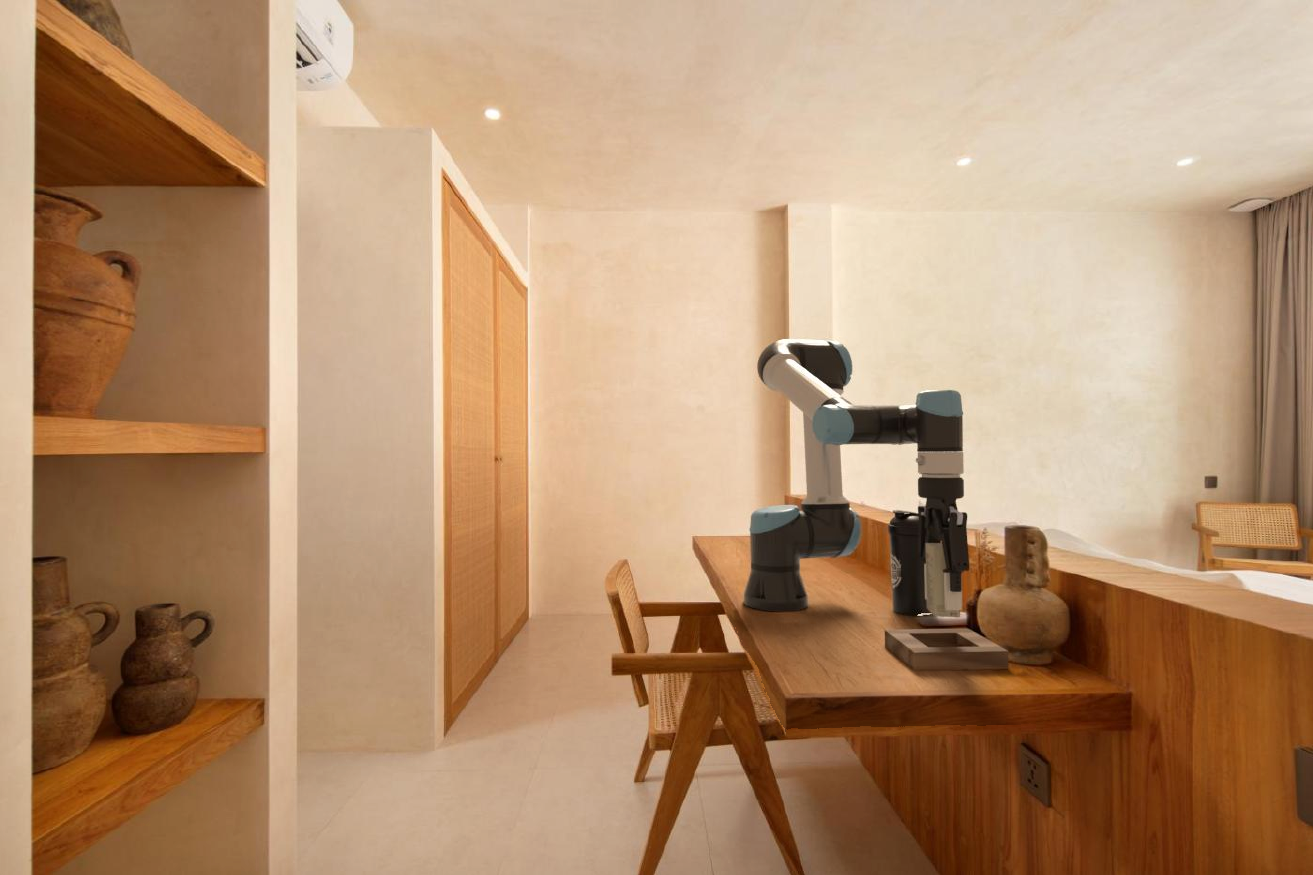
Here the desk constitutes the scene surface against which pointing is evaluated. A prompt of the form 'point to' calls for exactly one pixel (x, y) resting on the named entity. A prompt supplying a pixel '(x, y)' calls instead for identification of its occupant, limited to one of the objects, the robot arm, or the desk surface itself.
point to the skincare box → (936, 581)
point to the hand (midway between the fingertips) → (942, 604)
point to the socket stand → (945, 649)
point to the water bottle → (906, 565)
